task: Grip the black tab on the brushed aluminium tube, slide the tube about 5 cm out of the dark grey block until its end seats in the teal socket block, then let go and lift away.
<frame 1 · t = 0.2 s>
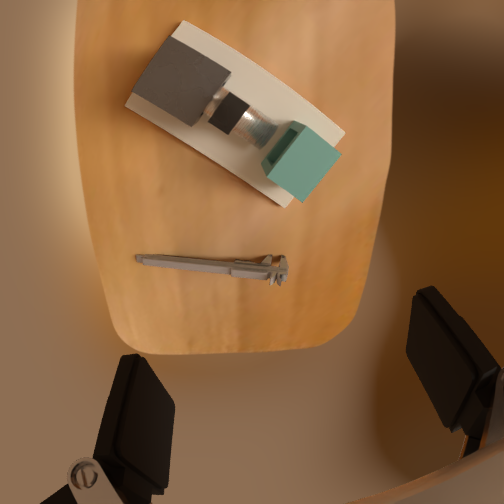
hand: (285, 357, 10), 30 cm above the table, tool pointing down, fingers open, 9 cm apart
socket block: (292, 153, 35), resting on base board
base board: (236, 112, 33), on the table
dark grey block: (188, 82, 30), resting on base board
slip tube: (211, 99, 26), point 7 cm above the table, slide at 0.0 cm
caliper: (209, 256, 42), on the table
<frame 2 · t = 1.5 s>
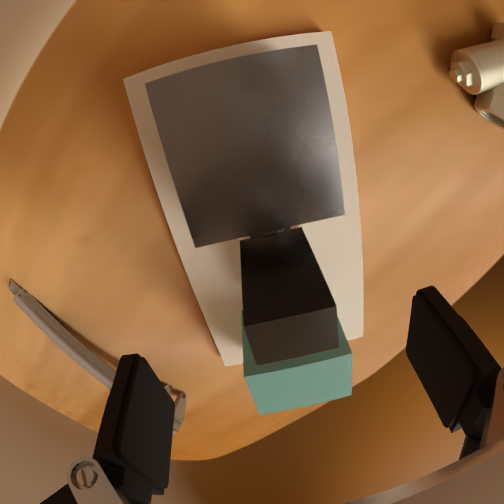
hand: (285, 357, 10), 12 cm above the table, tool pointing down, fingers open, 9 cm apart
socket block: (289, 324, 24), resting on base board
base board: (267, 224, 21), on the table
dark grey block: (245, 129, 17), resting on base board
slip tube: (269, 227, 13), point 7 cm above the table, slide at 0.0 cm
caliper: (98, 342, 26), on the table
pipe fitting: (476, 62, 15), on the table
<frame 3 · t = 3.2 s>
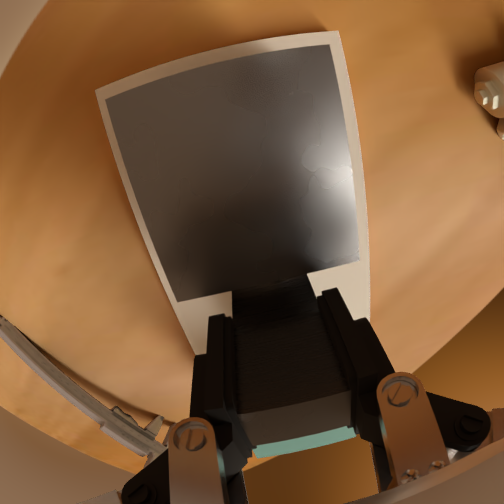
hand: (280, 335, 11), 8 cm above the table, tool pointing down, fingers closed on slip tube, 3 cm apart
socket block: (288, 360, 21), resting on base board
base board: (264, 256, 18), on the table
dark grey block: (238, 148, 14), resting on base board
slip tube: (267, 277, 11), point 7 cm above the table, slide at 0.0 cm, touching gripper
caliper: (84, 373, 23), on the table
pipe fitting: (498, 80, 14), on the table
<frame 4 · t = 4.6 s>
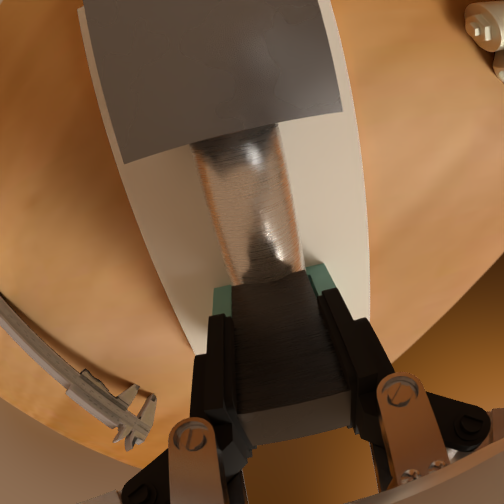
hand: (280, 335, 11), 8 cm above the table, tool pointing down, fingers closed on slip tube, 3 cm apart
socket block: (276, 307, 19), resting on base board
base board: (244, 173, 16), on the table
dark grey block: (213, 50, 12), resting on base board
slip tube: (267, 277, 11), point 7 cm above the table, slide at 5.0 cm, touching gripper
caliper: (54, 332, 21), on the table
pipe fitting: (490, 23, 12), on the table
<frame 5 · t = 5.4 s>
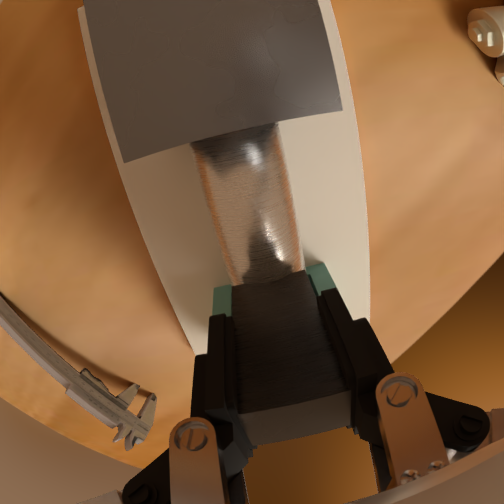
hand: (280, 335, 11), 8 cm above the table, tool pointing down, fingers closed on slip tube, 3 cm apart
socket block: (276, 306, 19), resting on base board
base board: (244, 173, 16), on the table
dark grey block: (213, 49, 12), resting on base board
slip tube: (267, 277, 11), point 7 cm above the table, slide at 5.0 cm, touching gripper
caliper: (53, 331, 21), on the table
pipe fitting: (492, 28, 12), on the table
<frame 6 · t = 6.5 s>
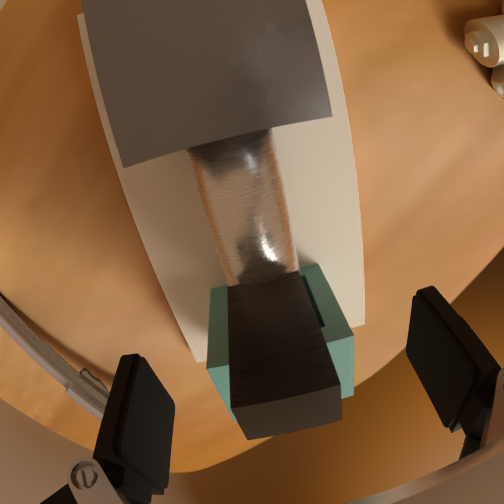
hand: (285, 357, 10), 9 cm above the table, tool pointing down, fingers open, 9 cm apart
socket block: (271, 307, 19), resting on base board
base board: (240, 176, 16), on the table
dark grey block: (209, 56, 12), resting on base board
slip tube: (261, 277, 11), point 7 cm above the table, slide at 5.0 cm
caliper: (53, 332, 21), on the table
pipe fitting: (488, 37, 13), on the table
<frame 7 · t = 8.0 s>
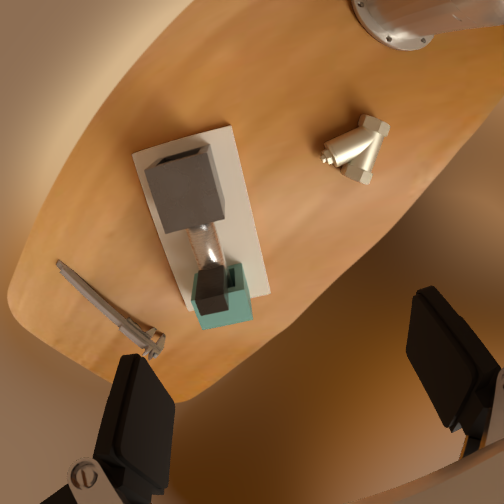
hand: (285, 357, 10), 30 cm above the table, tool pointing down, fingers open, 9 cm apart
socket block: (222, 282, 42), resting on base board
base board: (206, 226, 39), on the table
dark grey block: (191, 179, 36), resting on base board
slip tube: (208, 266, 34), point 7 cm above the table, slide at 5.0 cm
caliper: (111, 299, 44), on the table
pipe fitting: (347, 141, 36), on the table
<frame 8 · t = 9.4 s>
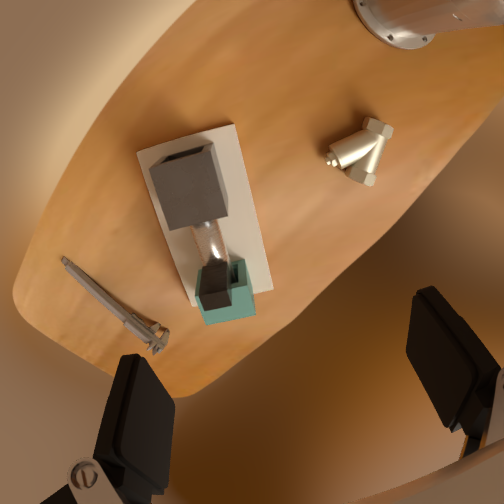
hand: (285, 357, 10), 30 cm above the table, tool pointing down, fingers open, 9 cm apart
socket block: (225, 278, 43), resting on base board
base board: (209, 222, 40), on the table
dark grey block: (194, 177, 36), resting on base board
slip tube: (211, 262, 35), point 7 cm above the table, slide at 5.0 cm
caliper: (116, 295, 45), on the table
pipe fitting: (351, 143, 37), on the table
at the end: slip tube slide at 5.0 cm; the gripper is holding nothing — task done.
